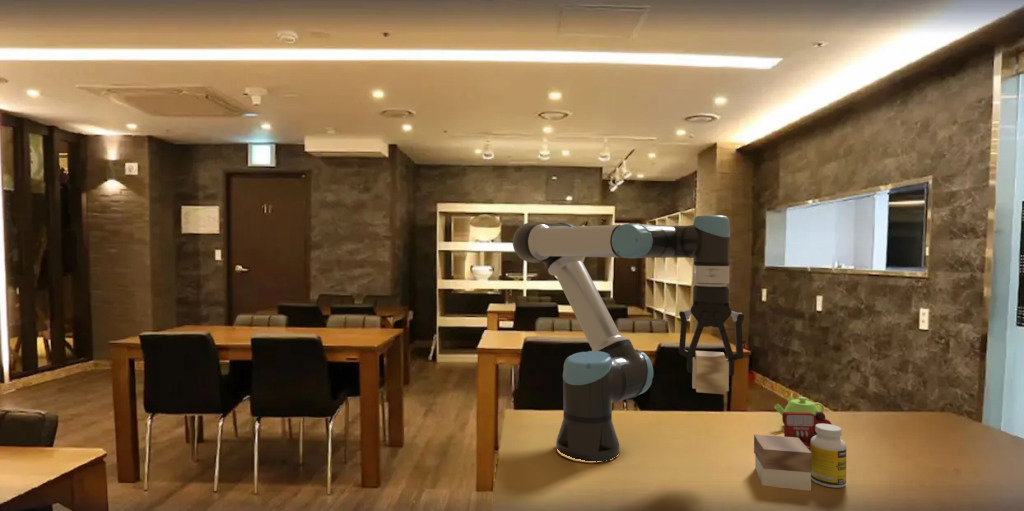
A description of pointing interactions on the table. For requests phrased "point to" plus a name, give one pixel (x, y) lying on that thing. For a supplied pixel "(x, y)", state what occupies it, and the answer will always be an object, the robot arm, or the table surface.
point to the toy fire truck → (802, 425)
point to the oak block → (710, 372)
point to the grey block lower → (783, 478)
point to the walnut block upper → (782, 453)
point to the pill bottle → (828, 456)
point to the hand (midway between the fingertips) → (709, 388)
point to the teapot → (800, 406)
